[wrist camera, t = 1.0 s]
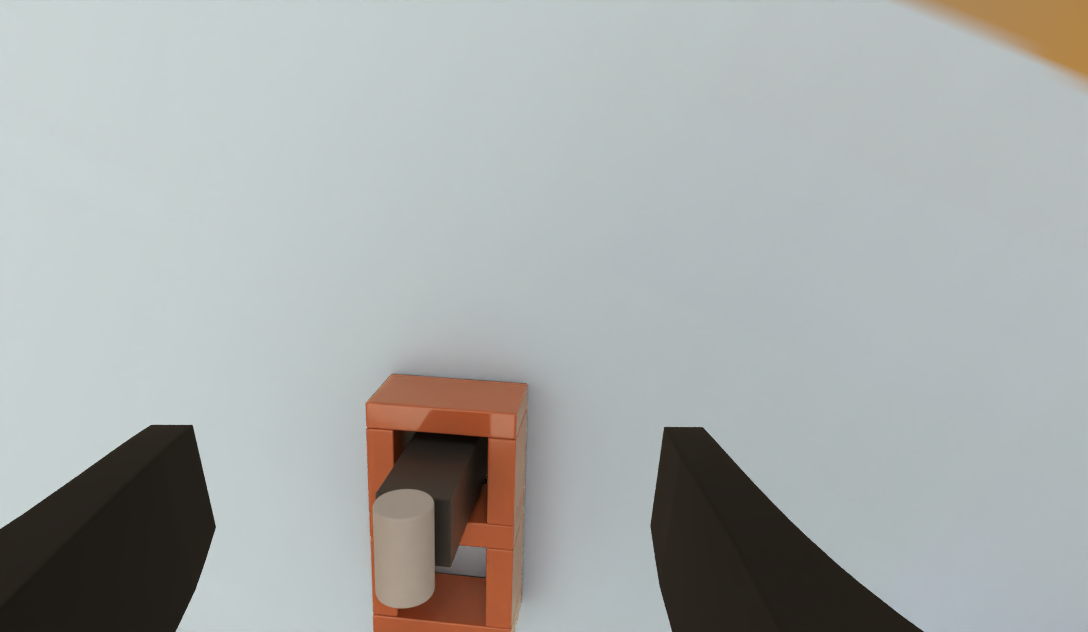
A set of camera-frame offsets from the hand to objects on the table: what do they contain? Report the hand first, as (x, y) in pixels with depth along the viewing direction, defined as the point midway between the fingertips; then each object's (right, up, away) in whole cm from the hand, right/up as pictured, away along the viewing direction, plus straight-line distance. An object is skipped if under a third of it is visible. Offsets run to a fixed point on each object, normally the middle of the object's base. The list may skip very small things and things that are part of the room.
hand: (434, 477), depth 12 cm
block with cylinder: (-2, -2, +18) cm, 18 cm away
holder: (-2, -5, +18) cm, 19 cm away
